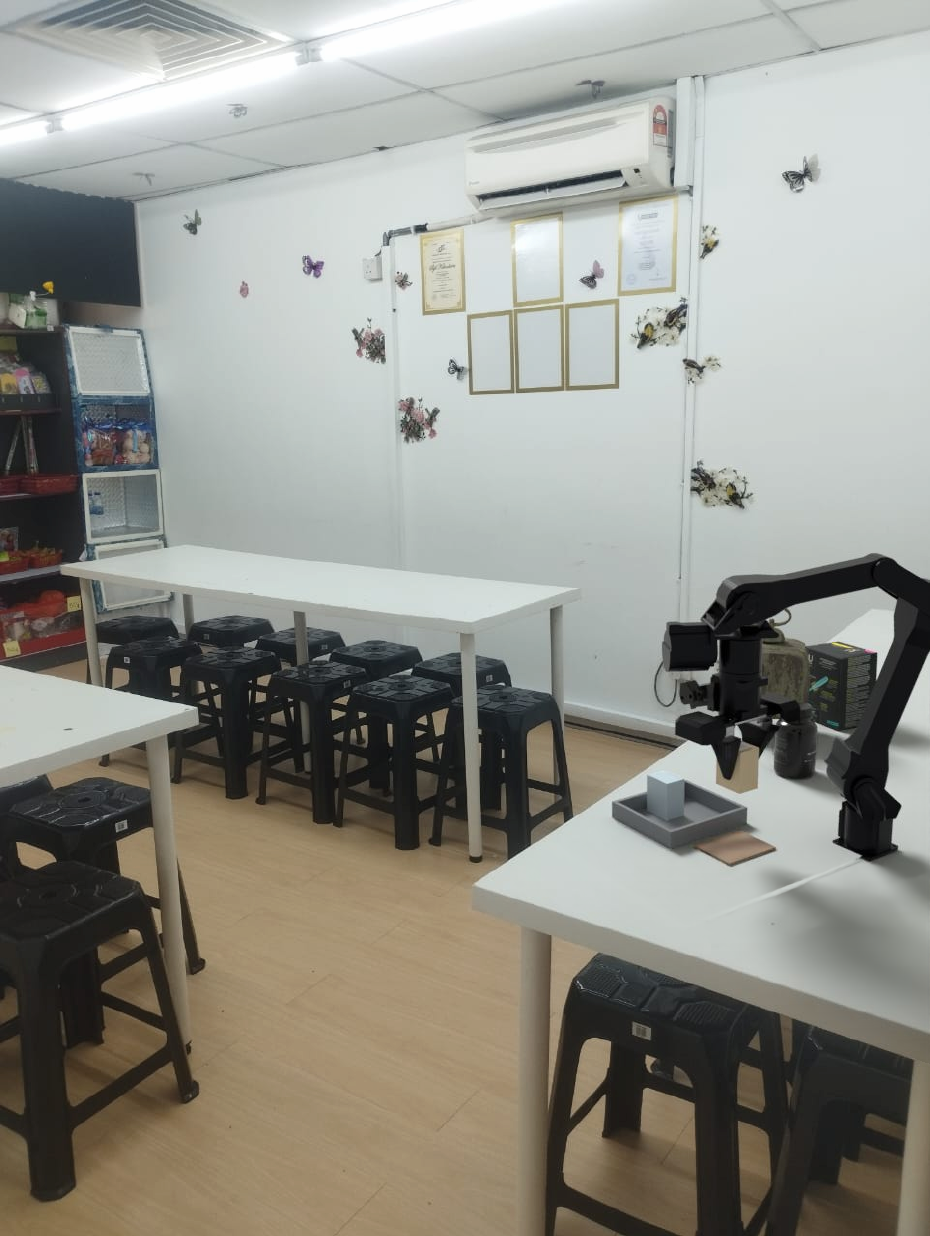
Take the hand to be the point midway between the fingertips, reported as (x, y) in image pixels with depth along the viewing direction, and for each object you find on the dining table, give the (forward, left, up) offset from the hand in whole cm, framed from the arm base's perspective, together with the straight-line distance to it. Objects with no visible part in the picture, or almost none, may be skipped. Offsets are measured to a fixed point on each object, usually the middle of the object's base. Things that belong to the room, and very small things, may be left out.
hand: (737, 776), depth 136 cm
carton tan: (0, 0, -2) cm, 2 cm away
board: (0, 0, -11) cm, 11 cm away
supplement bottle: (+16, -30, -12) cm, 36 cm away
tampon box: (+30, -58, -12) cm, 66 cm away
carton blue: (+15, 0, -11) cm, 18 cm away
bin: (+12, 0, -11) cm, 16 cm away
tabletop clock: (+33, -42, -12) cm, 54 cm away
